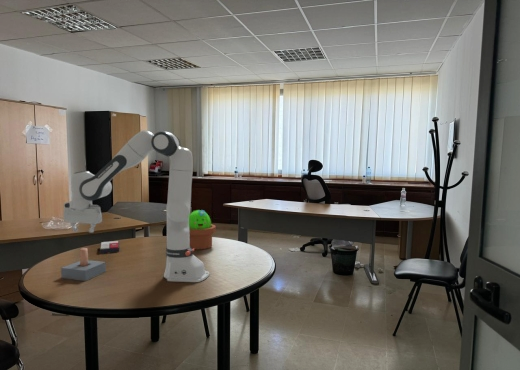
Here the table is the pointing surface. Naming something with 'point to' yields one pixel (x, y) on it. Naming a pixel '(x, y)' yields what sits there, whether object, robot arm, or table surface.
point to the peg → (83, 257)
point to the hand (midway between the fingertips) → (83, 231)
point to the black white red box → (109, 247)
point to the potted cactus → (200, 230)
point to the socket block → (83, 270)
